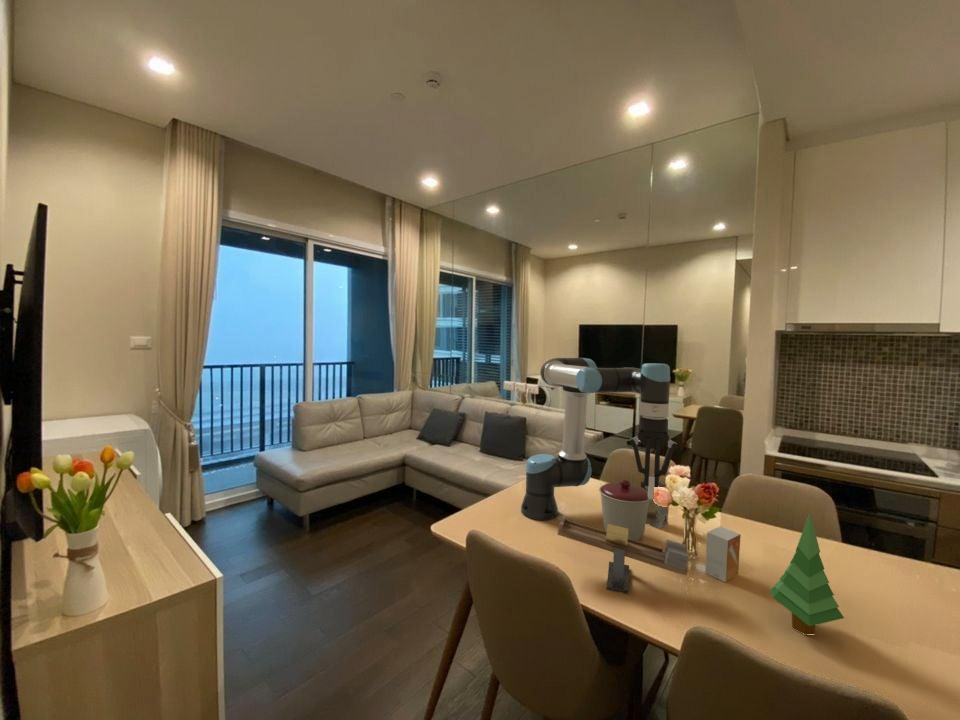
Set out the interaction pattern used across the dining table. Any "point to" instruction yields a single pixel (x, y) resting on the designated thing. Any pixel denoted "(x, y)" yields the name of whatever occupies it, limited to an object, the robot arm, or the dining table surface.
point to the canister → (625, 507)
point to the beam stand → (618, 573)
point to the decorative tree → (807, 586)
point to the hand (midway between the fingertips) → (650, 497)
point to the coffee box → (656, 512)
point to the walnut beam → (629, 547)
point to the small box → (722, 553)
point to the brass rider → (617, 535)
